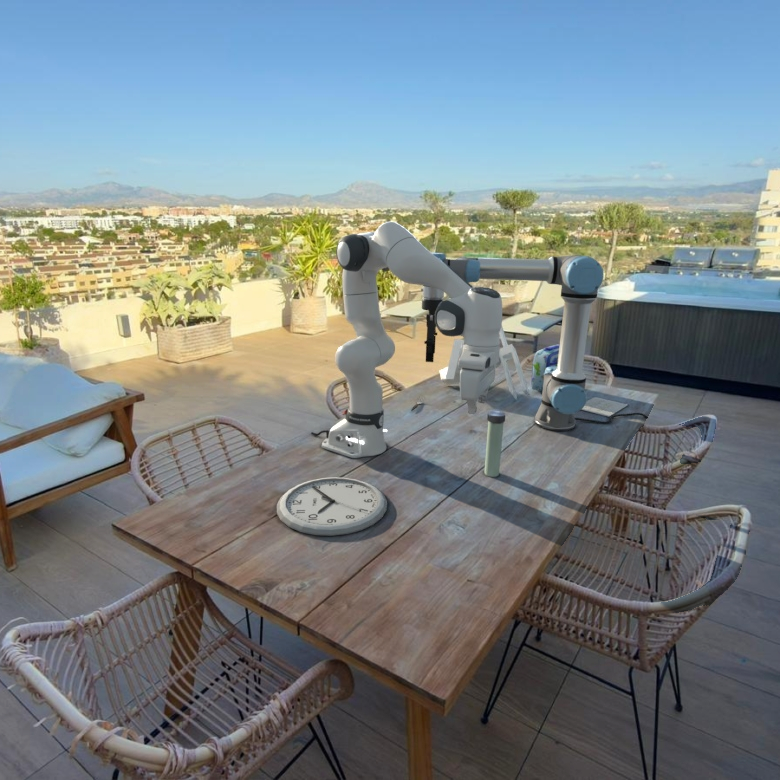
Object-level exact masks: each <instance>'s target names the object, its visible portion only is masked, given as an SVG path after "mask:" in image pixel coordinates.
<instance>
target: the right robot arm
mask: <svg viewBox="0 0 780 780" xmlns="http://www.w3.org/2000/svg"><path fill="white" fill-rule="evenodd" d="M431 253H432V254H433V255H434V256H436V257H437V258H439V259H440V260H441V261H443V262H444V263H446V264H447V265H448V266H450V267H451V268H452V269H453V270H455V271H456V272H457V273H458V274H459V275H460V276H461V277H463V278H464V279H465V280H466V281H467V282H468V283H469V284H471V283H477V282H479V281H480V280H495V281H497V280H499V281H500V280H501V281H526V282H527V281H531V282H546V283H547V284H548V285H557V286H561V289H560V298H561V299H562V300H563V303H564V305H563V313H562V322H561V330H560V339H559V345H560V346H559V355H558V364H557V366H553V367H547V368H546V369H545V373H544V382H543V392H542V391H541V393H542V394H541V402H540V405H539V407H538V410H537V411H536V413H535V417H534V424H535V425H536V426H537V427H539V428H542V429H544V430H549V431H556V432H567V431H572V430H574V429H575V428H576V421H579V422H580V421H581V422H588V423H594V424H601V425H605V424H610V423H612V421H613V418H618V417H631V416H641V417H644V418H645V419H649V416H648V415H646V414H645V413H643V412H630V413H618V414H613V415H611V416H609V417H608V418H609V419H608V420H603V421H602V420H596V419H589V418H582V417H576V416H575V414H576V413H579V412H580V411H582V410H581V409H582V408H583V407H584V406H585V404H586V401H588V397H587V392H586V389H585V388H586V383H587V382H586V381H587V375H586V374H585V373H584V371H583V369H584V361H585V355H586V347H587V339H588V338H587V337H588V330H589V324H590V318H591V317H590V316H591V308H592V303H593V302H594V301H596V300H597V298H598V294H599V293H598V291H599V288H601V285H602V284H603V281H604V269H603V267H602V265H601V264H600V262H599V261H597V260H596V259H595V258H594V257H592V256H587V255H581V254H574V255H573V254H572V255H565V256H551V257H549V258H548V259H545V258H544V259H543V258H542V259H541V258H540V259H539V258H501V257H500V258H497V257H496V258H495V257H494V258H492V257H466V256H460V257H457V258H455V259H451V258H449V259H448V258H447V257H446V253H444V252H431ZM420 292H421V293H422V294H421V296H422V299H421V309H422V310H423V311H428V313H426V316H425V320H426V340H424V342H423V343H424V344H425V362H426V363H434V359H435V357H434V356H435V353H436V338H437V337H436V336H438V332H437V329H436V328H437V326H436V323H435V312H436V309H437V307H438V305H439V304H440V303H441V302H442V301H444V299H443V298H444V297H445V292H443V291H442V290H440V289H437V288H434V287H430V286H425V285H422V288H420Z"/></svg>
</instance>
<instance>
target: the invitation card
mask: <svg viewBox="0 0 780 780" xmlns="http://www.w3.org/2000/svg"><path fill="white" fill-rule="evenodd" d="M628 406H629V404H627V403H623V402H618V401H614V400H609V399H605V398H601V397H596V396H593V397H592V398H590V399H587V401H586V404H585V406H584V407H583V408H582V409H581V410H580V411H584V412H587V413H593V414H596V415H600V416H604V417H608V418H610V417H611V416H613V415H615V414H616V413H617V412H619V411H621V410H623V409H624V408H626V407H628Z"/></svg>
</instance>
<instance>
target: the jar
mask: <svg viewBox="0 0 780 780" xmlns="http://www.w3.org/2000/svg"><path fill="white" fill-rule="evenodd" d="M504 423H505V422H503V423H491V422H489V421H488V420H487V435H486V448H485V462H484V473H483V474H484V475H485V476H487V477H491V478H496V477H499V475H500V467H501V458H502V457H501V456H502V447H503V446H502V445H503V444H502V443H503V433H504Z"/></svg>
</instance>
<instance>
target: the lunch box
mask: <svg viewBox="0 0 780 780" xmlns="http://www.w3.org/2000/svg"><path fill="white" fill-rule="evenodd" d="M559 346H560V344H554V345H550V346H547V347H544V348H542V349H541V348H540V349H539V350H537V351H536V352H535V353H534V356H533V360H532V367H531V368H532V369H531V382H530V383H531V386H530V387H531V389H532V390H533V391H537V392H541V393H542V392H543V382H544V373H545V369H546V368H547V367H553V366H557V364H558V355H559Z"/></svg>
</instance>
